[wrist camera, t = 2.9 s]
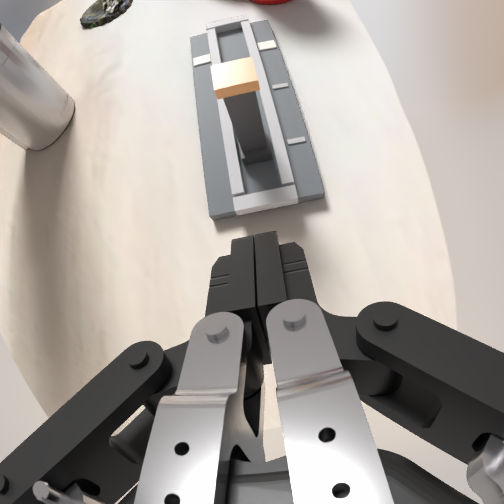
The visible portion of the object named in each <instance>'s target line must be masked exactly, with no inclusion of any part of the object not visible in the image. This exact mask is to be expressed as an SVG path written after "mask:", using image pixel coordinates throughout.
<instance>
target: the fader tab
mask: <svg viewBox="0 0 504 504" xmlns="http://www.w3.org/2000/svg"><path fill="white" fill-rule="evenodd" d="M211 73H212V80H213V87H214V91H215V94H216V96H217V99H222V98H223V100H224V103H225V106H226V108H227V111H228V114H229V116H230V119H231V122H232V125H233V127H234V130H235V133H236V136H237V139H238V143H239V149H240V154H241V159H242V162H243V165H247V164H252V163H256V162H261V161H266V160H271V159H272V154H271V149H270V145H269V141H268V137H267V132H266V128H265V125H263V123H262V118H261V114H260V109H259V105H258V100H257V96H256V91H257V90H260V87H259V82H258V78H257V74H256V71H255V67H254V63H253V60H252V57H247V58H242V59H238V60H233V61H229V62H225V63H221V64H217V65H213V66H211Z"/></svg>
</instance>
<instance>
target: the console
mask: <svg viewBox="0 0 504 504" xmlns="http://www.w3.org/2000/svg"><path fill="white" fill-rule="evenodd" d="M206 28H207V33H205V34H201V35H198V36H194V37H191V38H190V42H191V53H192V65H193V76H194V86H195V97H196V107H197V116H198V125H199V135H200V143H201V152H202V161H203V169H204V177H205V185H206V193H207V201H208V209H209V216H210V217H211V219H212V220H217V219H222V218H226V217H231V216H235V215H237V216H238V215H243V214H248V213H253V212H257V211H262V210H267V209H272V208H277V207H282V206H287V205H292V204H297V203H299V202H304V201H309V200H314V199H320V198H324V189H323V186H322V182H321V178H320V175H319V171H318V167H317V164H316V160H315V157H314V153H313V150H312V147H311V143H310V140H309V137H308V133H307V130H306V127H305V124H304V121H303V117H302V114H301V111H300V108H299V105H298V102H297V99H296V96H295V93H294V90H293V87H292V84H291V81H290V78H289V75H288V73H287V70H286V67H285V64H284V61H283V59H282V56H281V53H280V51H279V48H278V45H277V43H276V40H275V37H274V35H273V32H272V30H271V27H270V24H269V22H268V20H264V21H258V22H253V23H249V20H248V17H247V15H242V16H237V17H233V18H228V19H224V20H220V21H216V22H212V23H208V24H206ZM247 57H252V60H253V63H254V67H255V71H256V74H257V78H258V82H259V87H260V90H257V91H256V96H257V100H258V105H259V109H260V114H261V118H262V123H263V125H265V128H266V132H267V137H268V141H269V145H270V149H271V154H272V159H271V160H266V161H261V162H256V163H252V164H247V165H243V162H242V159H241V154H240V149H239V143H238V139H237V136H236V133H235V130H234V127H233V125H232V122H231V119H230V116H229V114H228V111H227V108H226V106H225V103H224V100H223V98H222V99H217V96H216V94H215V91H214V87H213V80H212V73H211V66H213V65H217V64H221V63H225V62H229V61H233V60H238V59H242V58H247Z"/></svg>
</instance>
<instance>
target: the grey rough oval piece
mask: <svg viewBox="0 0 504 504" xmlns="http://www.w3.org/2000/svg"><path fill="white" fill-rule="evenodd" d="M132 2H133V0H97V1H96V2H95V3H94V4H93V5H91V6H90V7H89V8H88V9H87V10H86V12H85V13H84V14H83V16H82V18H80V21H81V25H82V26H83V27H85V28H94V27H97V26H101V25H103V24H105V23H109V22H111V21H112V20H113V19H115V18H117V17H118V16H120V15H121V14H123V13H125V12H126V11H127V9H128V8H129V7H130V6H131V3H132Z"/></svg>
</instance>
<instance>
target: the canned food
mask: <svg viewBox="0 0 504 504" xmlns="http://www.w3.org/2000/svg"><path fill="white" fill-rule="evenodd" d="M251 1H253V2H256V3H259V4H268V5H269V4H281V3H285V2H288V1H291V0H251Z"/></svg>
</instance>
